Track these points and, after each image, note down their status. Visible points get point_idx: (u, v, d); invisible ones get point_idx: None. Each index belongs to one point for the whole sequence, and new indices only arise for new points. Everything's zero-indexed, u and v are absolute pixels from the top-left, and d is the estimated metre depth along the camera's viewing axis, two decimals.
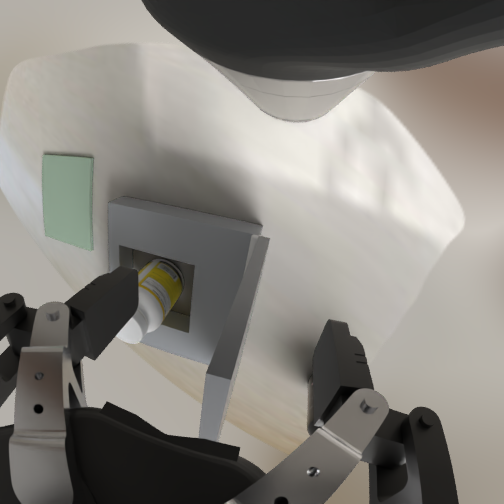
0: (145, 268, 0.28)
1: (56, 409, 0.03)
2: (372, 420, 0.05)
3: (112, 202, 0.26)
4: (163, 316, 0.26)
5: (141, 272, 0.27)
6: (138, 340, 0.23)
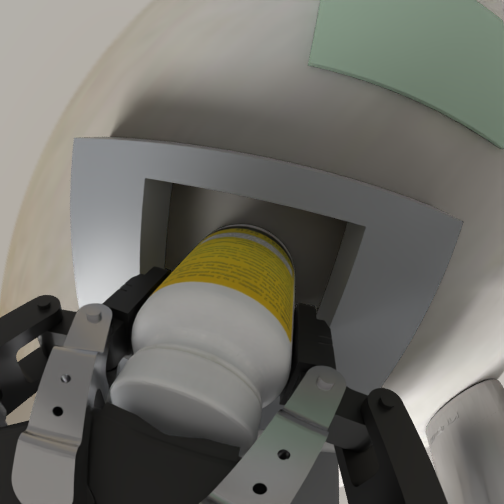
0: (293, 288, 0.11)
1: (76, 415, 0.04)
2: (326, 395, 0.06)
3: None
4: None
5: (293, 300, 0.11)
6: None
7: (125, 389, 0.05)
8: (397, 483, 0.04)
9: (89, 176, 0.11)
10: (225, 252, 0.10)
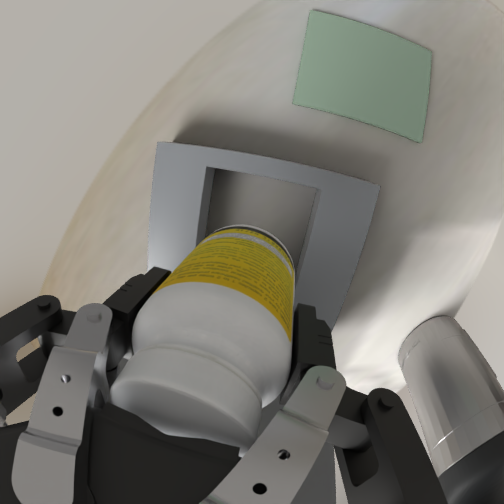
0: (293, 288, 0.11)
1: (76, 415, 0.04)
2: (326, 395, 0.06)
3: None
4: None
5: (292, 300, 0.11)
6: None
7: (125, 389, 0.05)
8: (397, 483, 0.04)
9: (168, 164, 0.21)
10: (224, 252, 0.10)
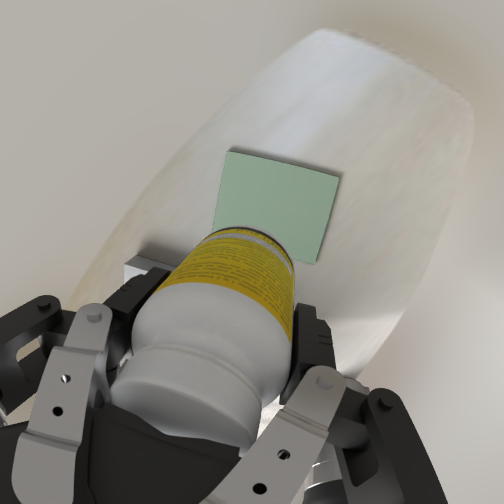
0: (293, 288, 0.11)
1: (75, 415, 0.04)
2: (326, 395, 0.06)
3: None
4: None
5: (292, 300, 0.11)
6: None
7: (125, 390, 0.05)
8: (397, 483, 0.04)
9: None
10: (224, 252, 0.10)
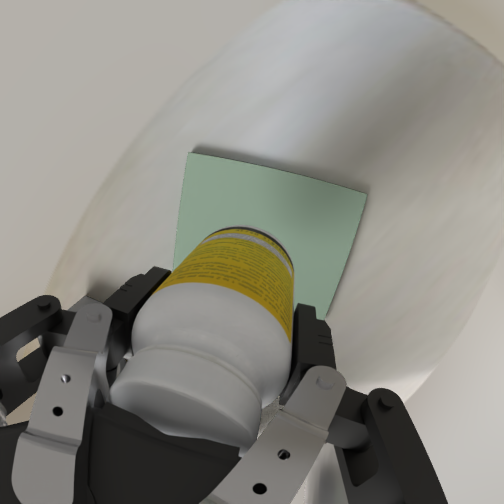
0: (293, 288, 0.11)
1: (75, 415, 0.04)
2: (326, 395, 0.06)
3: None
4: None
5: (292, 300, 0.11)
6: None
7: (125, 390, 0.05)
8: (397, 483, 0.04)
9: None
10: (224, 252, 0.10)
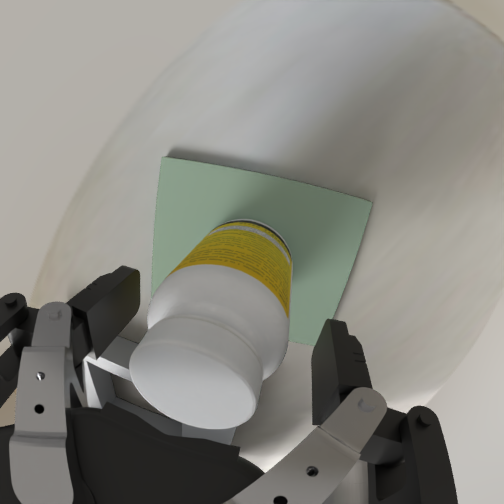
0: (290, 275, 0.13)
1: (57, 409, 0.04)
2: (370, 419, 0.05)
3: None
4: None
5: (290, 285, 0.12)
6: (159, 409, 0.08)
7: (146, 353, 0.07)
8: (419, 499, 0.03)
9: None
10: (230, 241, 0.11)
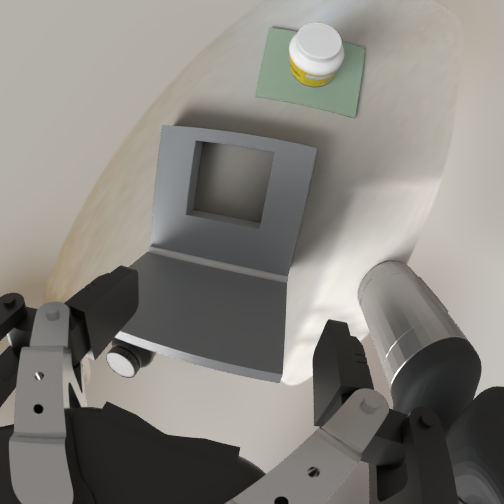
0: None
1: (55, 410, 0.03)
2: (372, 420, 0.05)
3: None
4: (311, 74, 0.22)
5: None
6: (305, 50, 0.18)
7: (306, 26, 0.17)
8: (420, 500, 0.03)
9: (170, 140, 0.29)
10: None
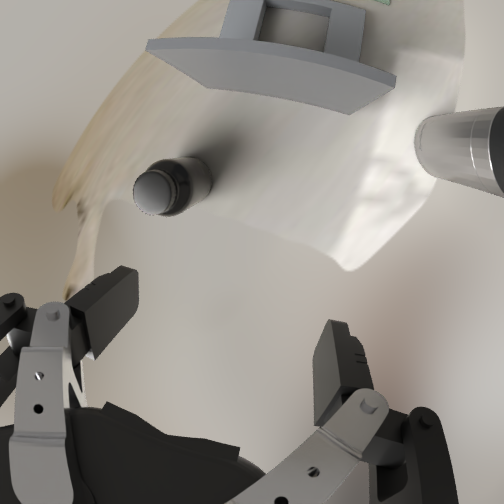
0: None
1: (55, 409, 0.03)
2: (372, 420, 0.05)
3: None
4: None
5: None
6: None
7: None
8: (420, 500, 0.03)
9: None
10: None
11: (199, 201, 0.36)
